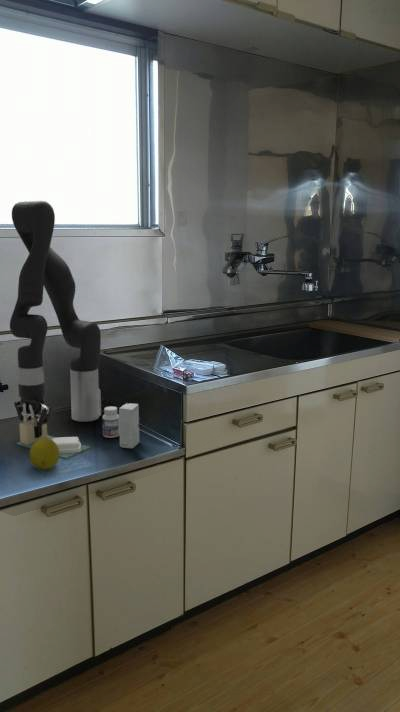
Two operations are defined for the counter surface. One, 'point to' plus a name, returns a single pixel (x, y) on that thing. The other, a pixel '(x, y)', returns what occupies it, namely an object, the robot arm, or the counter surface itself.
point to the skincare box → (129, 425)
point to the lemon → (44, 454)
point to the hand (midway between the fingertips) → (33, 435)
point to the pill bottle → (110, 422)
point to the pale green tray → (29, 437)
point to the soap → (68, 444)
